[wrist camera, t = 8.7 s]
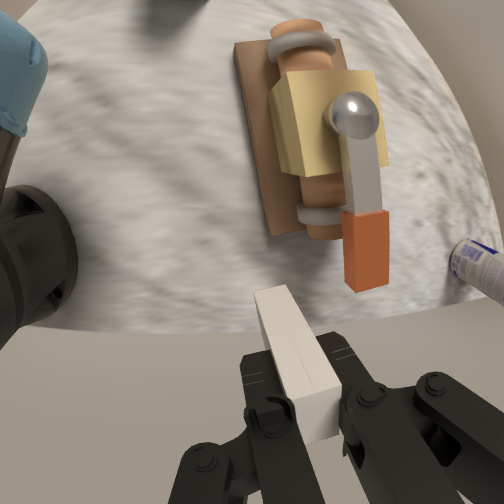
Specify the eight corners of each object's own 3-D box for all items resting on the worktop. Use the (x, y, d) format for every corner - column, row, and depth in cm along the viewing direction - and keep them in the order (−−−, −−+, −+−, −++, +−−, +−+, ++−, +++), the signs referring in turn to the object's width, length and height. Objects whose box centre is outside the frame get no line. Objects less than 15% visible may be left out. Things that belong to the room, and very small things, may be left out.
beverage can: (451, 282, 33) (523, 332, 19) (445, 251, 31) (528, 298, 17) (474, 261, 33) (545, 302, 19) (469, 230, 31) (550, 267, 17)
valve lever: (376, 271, 20) (390, 283, 18) (340, 280, 20) (352, 293, 18) (361, 96, 16) (377, 91, 14) (320, 97, 15) (333, 90, 13)
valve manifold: (267, 230, 28) (291, 263, 19) (233, 50, 22) (242, 6, 13) (360, 212, 28) (411, 235, 20) (331, 45, 22) (374, 11, 14)
